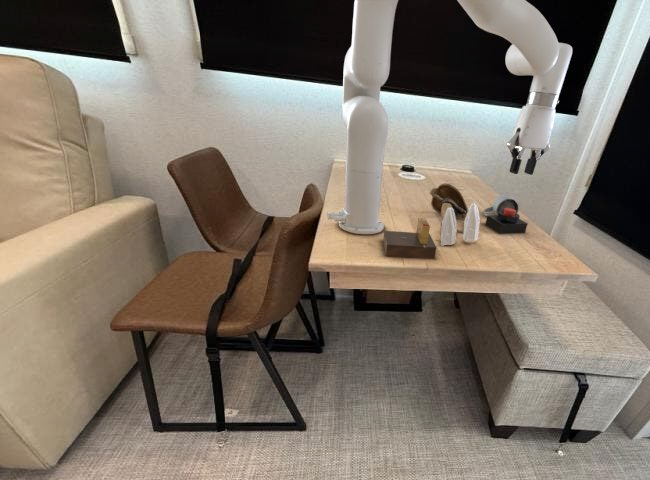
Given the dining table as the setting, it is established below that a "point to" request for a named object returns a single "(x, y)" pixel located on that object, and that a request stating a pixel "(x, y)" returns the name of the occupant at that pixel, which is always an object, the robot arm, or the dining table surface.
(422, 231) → the lock knob
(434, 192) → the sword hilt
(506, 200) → the ceramic mug
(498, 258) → the dining table surface
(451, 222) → the shaker set
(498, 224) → the bell block
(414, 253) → the plate
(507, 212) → the bell button
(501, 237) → the dining table surface
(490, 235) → the dining table surface
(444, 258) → the dining table surface
